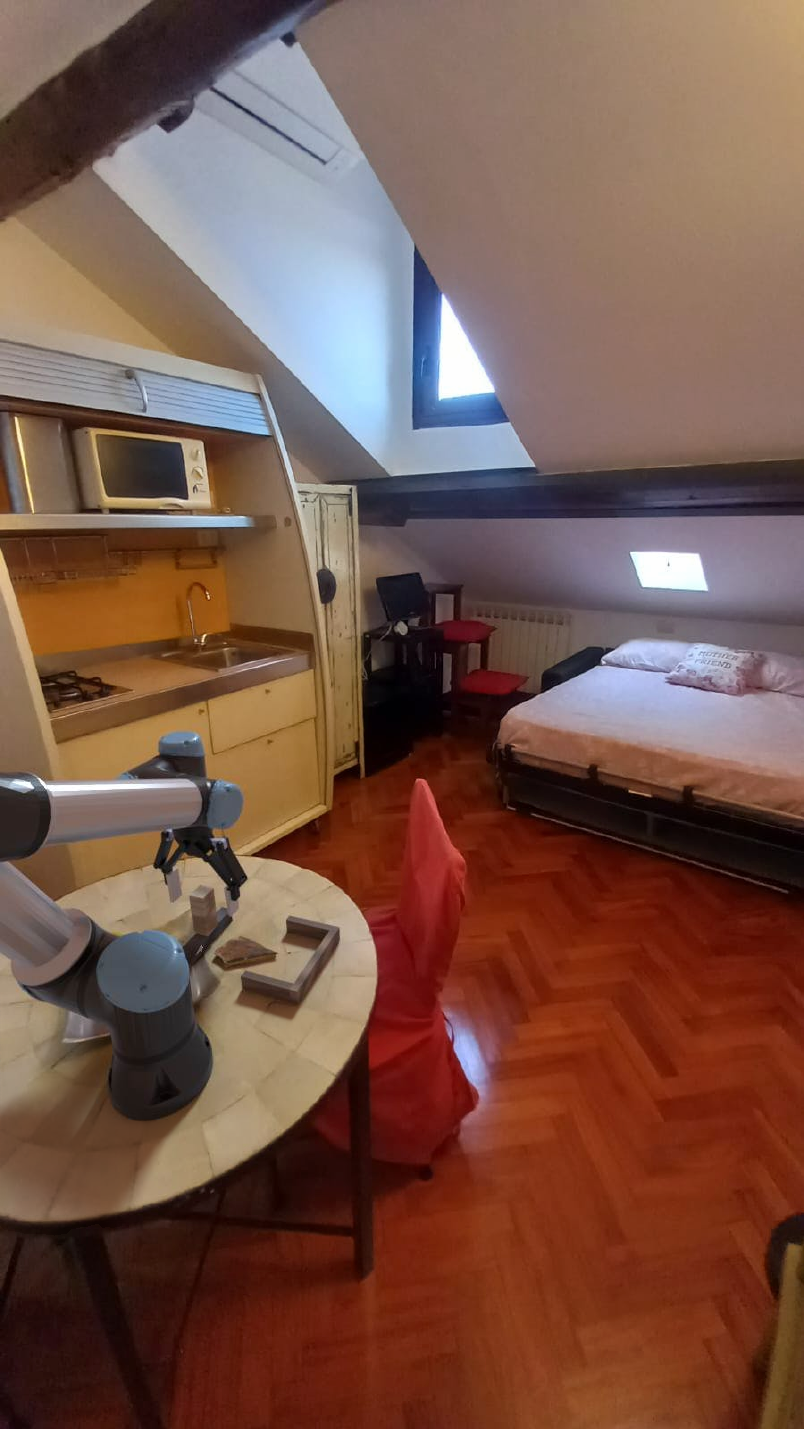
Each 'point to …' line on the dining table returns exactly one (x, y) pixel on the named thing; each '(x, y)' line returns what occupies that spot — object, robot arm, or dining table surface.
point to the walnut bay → (310, 971)
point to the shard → (243, 951)
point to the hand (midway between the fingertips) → (204, 905)
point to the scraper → (204, 922)
